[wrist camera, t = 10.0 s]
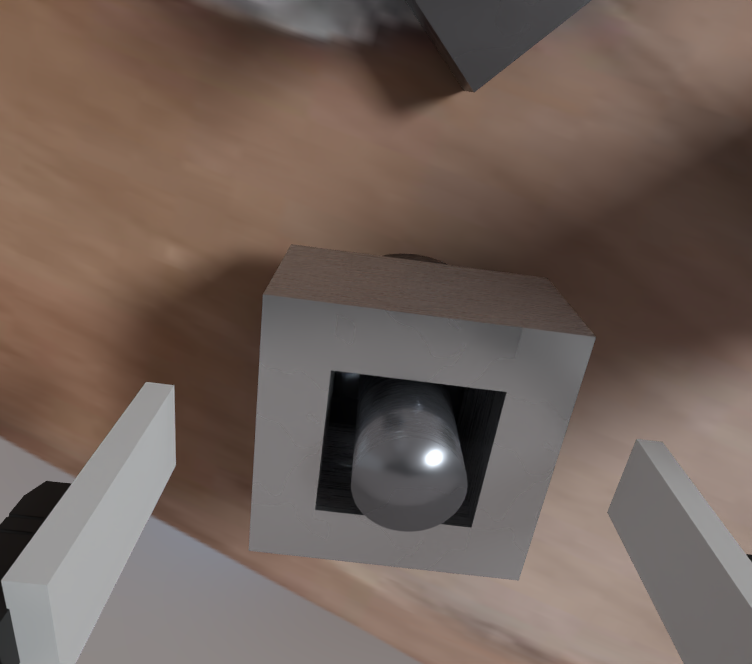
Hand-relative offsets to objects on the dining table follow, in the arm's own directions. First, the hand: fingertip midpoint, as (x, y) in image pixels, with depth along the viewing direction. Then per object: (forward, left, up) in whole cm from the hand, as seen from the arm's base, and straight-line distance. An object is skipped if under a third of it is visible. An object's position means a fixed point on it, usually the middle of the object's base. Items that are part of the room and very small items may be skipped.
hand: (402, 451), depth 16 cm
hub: (0, 0, -8) cm, 8 cm away
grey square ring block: (0, 0, -6) cm, 6 cm away
